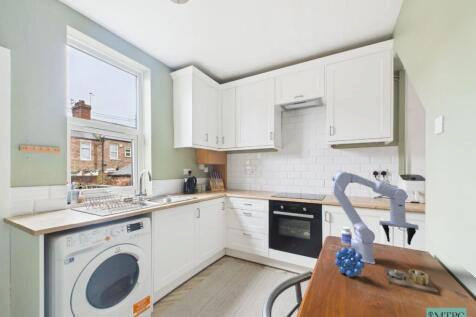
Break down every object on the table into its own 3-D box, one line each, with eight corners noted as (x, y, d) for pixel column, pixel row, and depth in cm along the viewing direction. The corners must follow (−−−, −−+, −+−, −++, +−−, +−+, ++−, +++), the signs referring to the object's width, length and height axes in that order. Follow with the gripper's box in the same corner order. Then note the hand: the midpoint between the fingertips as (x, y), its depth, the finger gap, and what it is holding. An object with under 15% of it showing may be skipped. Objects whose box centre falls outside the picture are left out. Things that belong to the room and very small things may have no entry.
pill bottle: (353, 246, 115) (353, 229, 115) (343, 245, 116) (342, 228, 116) (350, 243, 120) (349, 226, 120) (340, 242, 121) (340, 226, 122)
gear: (411, 283, 76) (411, 275, 76) (406, 274, 82) (406, 267, 82) (431, 287, 73) (430, 279, 73) (425, 278, 79) (424, 270, 80)
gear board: (388, 283, 77) (388, 271, 78) (384, 270, 88) (384, 259, 88) (438, 295, 71) (437, 282, 71) (427, 279, 81) (426, 267, 81)
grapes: (369, 279, 80) (368, 248, 81) (362, 285, 76) (361, 252, 77) (339, 267, 90) (339, 240, 90) (332, 272, 85) (331, 243, 86)
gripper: (380, 213, 96) (380, 242, 95) (420, 217, 89) (421, 248, 88) (378, 210, 102) (379, 238, 102) (415, 214, 95) (416, 243, 94)
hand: (398, 242), depth 95 cm, fingers open, 7 cm apart
